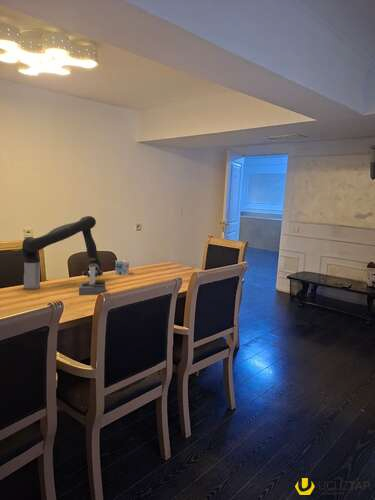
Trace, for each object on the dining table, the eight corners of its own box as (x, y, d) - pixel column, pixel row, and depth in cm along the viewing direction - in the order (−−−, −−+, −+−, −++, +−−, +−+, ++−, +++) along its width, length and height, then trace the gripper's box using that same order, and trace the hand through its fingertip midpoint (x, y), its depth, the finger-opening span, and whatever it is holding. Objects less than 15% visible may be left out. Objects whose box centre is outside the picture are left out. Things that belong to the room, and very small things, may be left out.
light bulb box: (115, 274, 275) (115, 261, 274) (115, 273, 282) (115, 260, 280) (129, 274, 278) (129, 261, 276) (128, 272, 284) (128, 260, 283)
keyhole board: (78, 294, 216) (78, 286, 216) (80, 289, 228) (80, 281, 227) (105, 294, 220) (105, 285, 219) (105, 289, 232) (105, 281, 231)
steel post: (87, 290, 220) (87, 267, 218) (87, 287, 226) (87, 265, 224) (96, 290, 222) (97, 267, 219) (97, 287, 227) (97, 265, 225)
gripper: (82, 264, 234) (80, 270, 217) (103, 264, 237) (103, 270, 221) (82, 275, 235) (80, 281, 219) (103, 275, 238) (103, 281, 222)
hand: (92, 275), depth 220 cm, fingers closed on steel post, 3 cm apart
